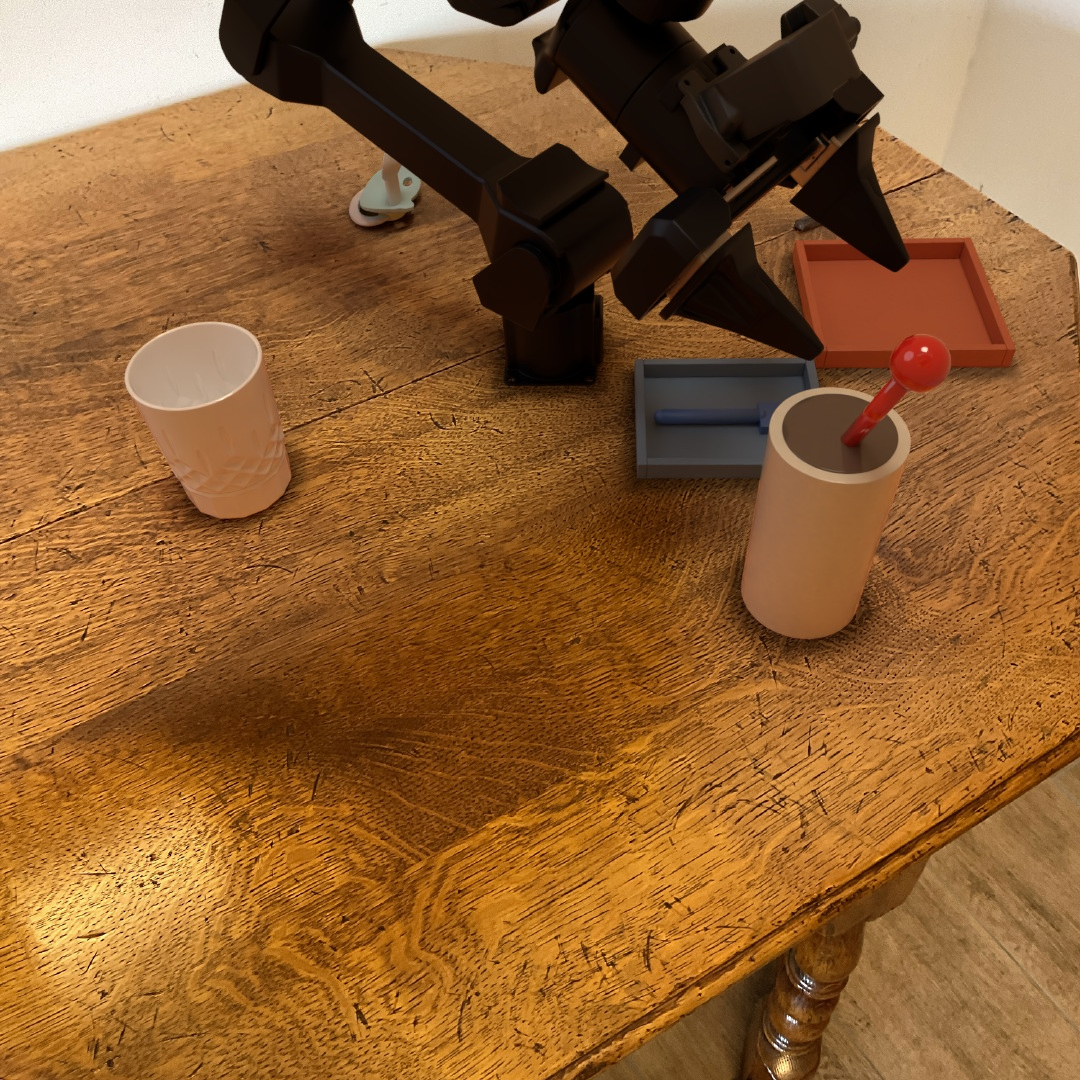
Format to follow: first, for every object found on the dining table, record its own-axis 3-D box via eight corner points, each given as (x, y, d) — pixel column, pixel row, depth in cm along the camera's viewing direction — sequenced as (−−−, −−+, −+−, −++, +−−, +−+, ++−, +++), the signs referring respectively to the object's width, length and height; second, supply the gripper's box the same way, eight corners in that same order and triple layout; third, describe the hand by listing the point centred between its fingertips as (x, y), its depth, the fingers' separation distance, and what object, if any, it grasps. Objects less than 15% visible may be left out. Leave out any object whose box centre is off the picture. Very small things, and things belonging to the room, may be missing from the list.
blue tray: (636, 483, 64) (637, 464, 63) (634, 377, 70) (634, 358, 69) (830, 483, 63) (835, 464, 62) (809, 376, 70) (813, 357, 68)
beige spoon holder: (716, 585, 58) (759, 294, 43) (800, 534, 60) (871, 240, 45) (806, 674, 54) (890, 389, 38) (893, 617, 56) (1006, 324, 41)
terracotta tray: (813, 373, 70) (818, 350, 68) (791, 262, 78) (795, 239, 77) (1007, 371, 69) (1016, 349, 67) (963, 259, 77) (971, 237, 76)
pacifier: (342, 235, 84) (412, 234, 83) (324, 165, 79) (398, 164, 78) (361, 187, 88) (427, 186, 88) (345, 119, 84) (414, 117, 83)
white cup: (197, 544, 62) (141, 428, 55) (167, 466, 67) (111, 348, 59) (317, 498, 64) (279, 379, 57) (279, 425, 69) (239, 306, 61)
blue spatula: (654, 434, 66) (654, 423, 65) (653, 409, 67) (653, 398, 67) (809, 434, 65) (811, 423, 64) (804, 409, 67) (807, 397, 66)
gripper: (614, 34, 40) (880, 320, 40) (842, -106, 49) (1058, 129, 49) (519, 205, 50) (733, 434, 50) (724, 62, 59) (904, 257, 59)
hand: (862, 309), depth 52 cm, fingers open, 9 cm apart
